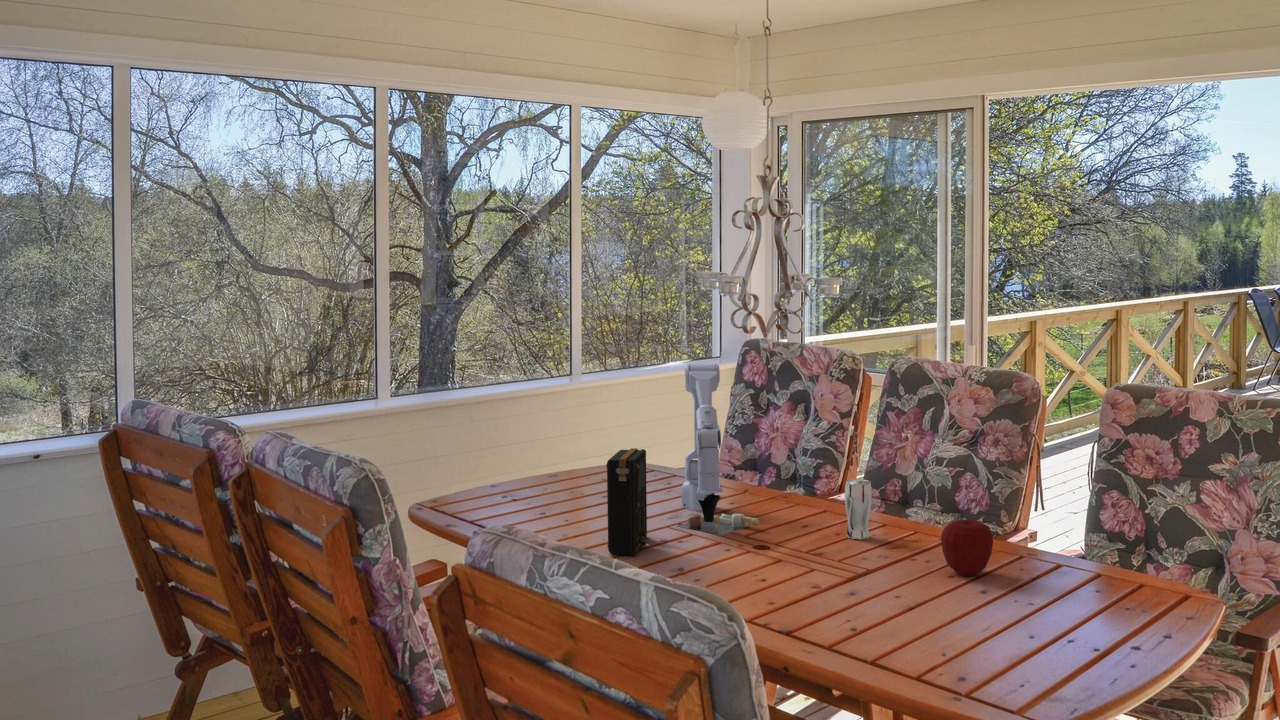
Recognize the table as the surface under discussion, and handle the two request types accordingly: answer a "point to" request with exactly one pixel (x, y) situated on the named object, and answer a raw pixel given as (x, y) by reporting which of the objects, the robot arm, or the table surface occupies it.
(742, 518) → the footscrew grey
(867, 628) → the table surface
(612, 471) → the voltmeter
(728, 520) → the bubble vial
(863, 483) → the beer glass
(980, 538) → the apple
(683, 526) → the levelling plate
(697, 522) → the beige knobbed bar
